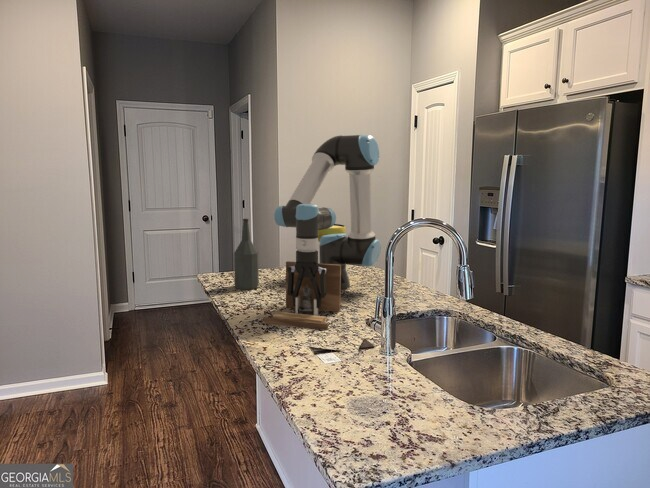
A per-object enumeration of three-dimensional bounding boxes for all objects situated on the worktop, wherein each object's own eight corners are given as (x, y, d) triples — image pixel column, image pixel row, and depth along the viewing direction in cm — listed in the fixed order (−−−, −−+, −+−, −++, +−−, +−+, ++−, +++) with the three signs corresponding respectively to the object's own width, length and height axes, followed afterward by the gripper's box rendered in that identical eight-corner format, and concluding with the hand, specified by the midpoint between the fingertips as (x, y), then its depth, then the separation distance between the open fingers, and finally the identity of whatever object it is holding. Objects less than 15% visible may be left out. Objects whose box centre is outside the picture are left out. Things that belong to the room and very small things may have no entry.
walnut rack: (285, 309, 178) (285, 261, 175) (342, 314, 172) (343, 264, 169) (263, 327, 158) (262, 273, 155) (327, 333, 152) (327, 277, 149)
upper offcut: (278, 317, 163) (278, 311, 163) (326, 322, 158) (326, 316, 158) (272, 321, 159) (272, 315, 159) (321, 326, 154) (321, 320, 154)
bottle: (256, 290, 204) (255, 219, 200) (233, 290, 204) (231, 219, 200) (259, 284, 214) (259, 217, 210) (237, 284, 215) (236, 217, 210)
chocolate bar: (374, 346, 140) (314, 352, 135) (374, 349, 140) (314, 356, 135) (362, 335, 149) (306, 341, 143) (362, 338, 149) (306, 344, 143)
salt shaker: (317, 316, 169) (317, 283, 167) (312, 321, 163) (312, 287, 162) (301, 315, 171) (301, 282, 169) (296, 320, 165) (296, 285, 163)
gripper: (276, 250, 162) (277, 316, 166) (331, 253, 157) (330, 321, 161) (284, 246, 169) (284, 310, 173) (336, 249, 164) (335, 315, 168)
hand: (306, 315), depth 167 cm, fingers closed on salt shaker, 6 cm apart
